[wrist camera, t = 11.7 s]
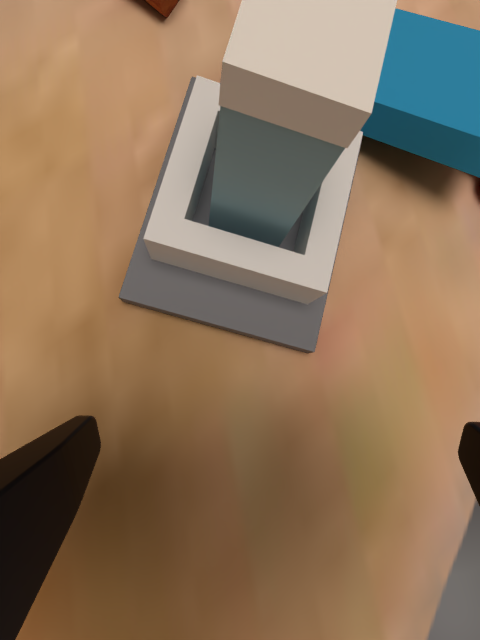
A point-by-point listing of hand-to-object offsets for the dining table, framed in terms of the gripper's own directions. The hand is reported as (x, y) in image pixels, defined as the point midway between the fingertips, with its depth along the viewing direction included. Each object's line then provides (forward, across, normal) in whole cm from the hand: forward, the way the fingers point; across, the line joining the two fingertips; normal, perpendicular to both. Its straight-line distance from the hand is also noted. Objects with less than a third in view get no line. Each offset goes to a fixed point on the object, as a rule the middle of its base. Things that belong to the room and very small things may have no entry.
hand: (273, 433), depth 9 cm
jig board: (+15, +1, -4) cm, 16 cm away
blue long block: (+21, -9, -8) cm, 24 cm away
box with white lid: (+14, +1, -4) cm, 15 cm away
